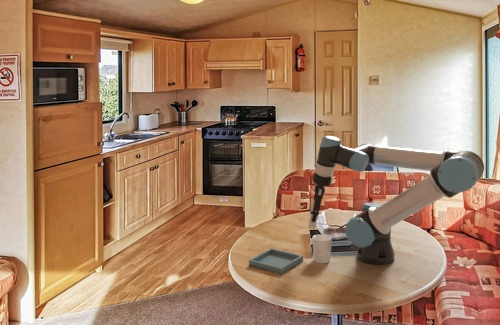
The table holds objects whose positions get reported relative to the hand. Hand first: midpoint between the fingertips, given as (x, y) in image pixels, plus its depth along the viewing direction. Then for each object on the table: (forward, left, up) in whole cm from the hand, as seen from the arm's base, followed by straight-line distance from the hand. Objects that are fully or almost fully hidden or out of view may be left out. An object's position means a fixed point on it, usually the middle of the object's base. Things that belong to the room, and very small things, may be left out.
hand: (312, 221), depth 197 cm
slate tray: (+9, +14, -16) cm, 23 cm away
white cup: (-5, +1, -16) cm, 17 cm away
